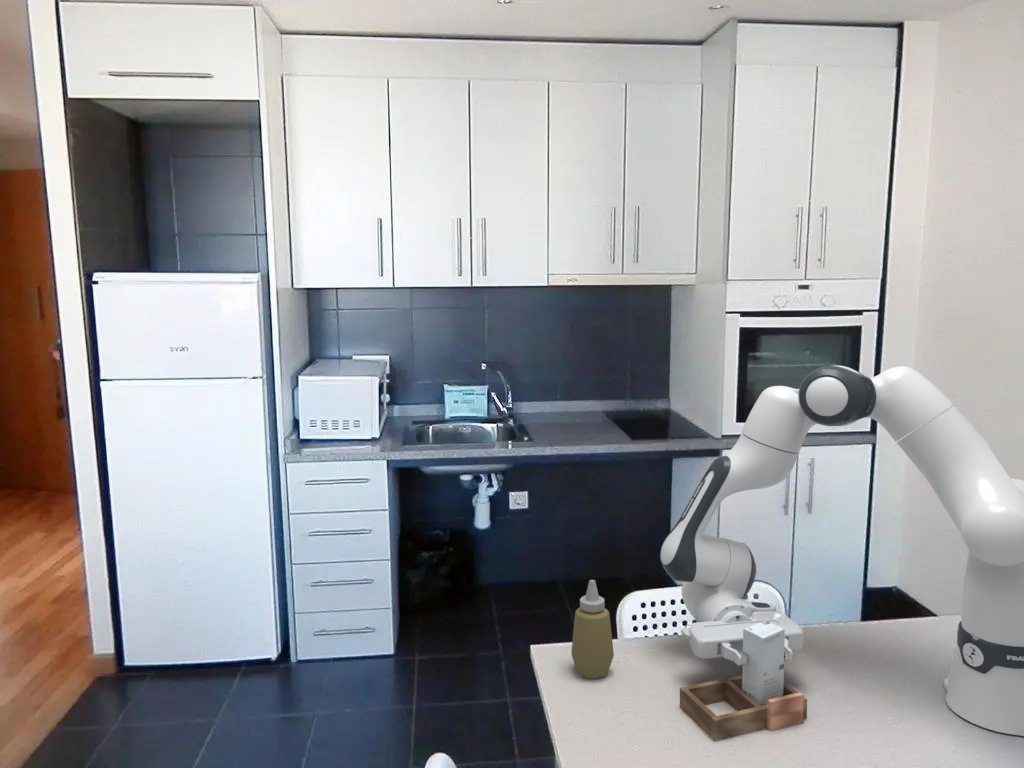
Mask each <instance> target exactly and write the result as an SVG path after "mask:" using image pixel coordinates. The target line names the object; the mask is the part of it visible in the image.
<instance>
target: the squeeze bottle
mask: <svg viewBox="0 0 1024 768" xmlns="http://www.w3.org/2000/svg"><path fill="white" fill-rule="evenodd" d="M598 591H599V590H598V587H597V582H596V580H595V579H589V581H588V584H587V590H586V593H585V595H583V596H581V598H579V607H578V608H577V609H576V610H575V612H574V621H573V622H574V623H573V631H572V632H573V633H572V643H571V657H572V660H573V663H574V666H575V669H576V672H577V673H578V674H579V675H580V676H582V677H583V678H588V679H599V678H600V679H601V678H603V677H605V676H607V675H608V673H609V671H610V667H611V666H612V661H613V659H614V656H615V654H614V645H613V644H614V643H613V642H614V641H613V636H612V634H613V633H612V625H611V615H610V611H609V610H608V609H607V608H606V604H605V600H606V599H605V598H604V597H602V596H600V595H599V592H598Z"/></svg>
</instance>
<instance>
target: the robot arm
mask: <svg viewBox="0 0 1024 768" xmlns="http://www.w3.org/2000/svg"><path fill="white" fill-rule="evenodd" d="M800 383H801V384H800V385H799V388H794V387H790V386H785V385H772V386H769V387H767V388H765V389H764V390H763V391H761V393H760V394H759V396H758V398H757V399H756V401H755V403H754V405H753V407H752V408H751V410H750V412H749V414H748V416H747V419H746V420H745V423H744V425H743V427H742V431H741V434H740V435H739V437H738V439H737V441H736V443H734V446H733V447H732V448H731V449H730V450H729V451H727V453H725V455H722V456H719V457H716V458H715V459H714V460H713V461H712V462H711V464H710V465H709V467H708V468H707V470H706V471H705V473H704V475H703V476H702V477H701V480H700V481H699V484H698V485H697V487H696V489H695V490H694V492H693V494H692V496H691V497H690V499H689V501H688V503H687V504H686V506H685V508H684V510H683V511H682V513H681V516H680V517H679V518H678V520H677V522H676V523H675V525H674V526H673V528H672V529H671V530H670V531H669V532H668V533H667V535H666V536H665V538H664V540H663V542H662V545H661V548H660V552H659V561H660V563H661V567H663V569H664V571H665V572H666V574H667V575H668V577H670V578H671V579H672V580H673V581H677V582H678V581H679V582H682V585H681V598H682V601H683V604H684V606H685V608H686V609H687V611H688V612H689V614H690V615H691V616H692V617H693V618H694V620H695V621H696V622H692V623H691V624H687V625H685V627H682V628H681V629H680V633H681V635H682V636H683V637H684V638H685V639H686V640H688V643H689V646H690V648H691V650H692V652H693V654H694V655H695V656H696V657H697V658H700V659H702V660H708V659H719V658H724V659H726V660H728V661H731V662H734V663H735V664H736V666H743V665H746V664H747V661H746V660H747V656H746V654H744V652H743V630H744V629H745V628H748V627H750V626H752V625H754V624H758V623H762V622H764V621H767V622H769V623H772V624H774V625H776V626H779V627H781V628H783V629H785V637H784V662H789V661H793V657H794V651H800V650H802V649H803V647H804V641H805V639H804V638H805V637H804V635H805V634H804V630H803V628H802V627H801V626H800V625H799V624H797V623H796V622H795V621H794V620H793V619H792V618H791V617H789V616H787V615H786V614H784V613H781V612H779V611H777V607H776V606H775V605H774V604H772V603H767V602H757V601H752V600H751V601H750V600H746V599H745V598H746V597H747V595H748V593H749V592H750V590H751V589H752V587H753V585H754V583H755V579H756V576H757V564H756V561H755V558H754V555H753V552H752V551H751V549H750V547H748V545H747V544H746V543H744V542H740V541H738V540H732V539H728V538H724V537H718V536H715V535H709V534H705V530H706V529H707V527H708V525H709V524H710V522H711V520H712V519H713V516H714V515H715V513H716V511H717V509H718V508H719V505H721V503H722V502H723V501H724V500H725V499H726V498H728V497H729V496H732V495H734V494H737V493H741V492H745V491H751V490H752V491H753V490H761V489H768V488H771V487H774V486H776V485H778V484H780V483H781V482H783V481H785V479H787V478H788V476H789V475H790V474H791V473H792V471H793V469H794V467H795V464H796V461H797V459H798V457H799V454H800V451H801V448H802V447H803V443H804V440H805V438H806V436H807V434H808V432H809V431H810V430H811V428H813V427H814V426H815V425H821V426H825V427H845V426H849V425H852V424H853V423H856V422H858V421H860V420H861V419H864V418H870V419H872V420H874V421H875V422H877V423H878V424H880V426H882V428H884V429H885V431H886V432H887V433H888V434H889V435H890V437H891V438H892V439H893V440H894V441H895V443H896V444H897V445H898V446H899V448H900V449H901V450H902V451H903V452H904V453H905V455H906V456H907V457H908V458H909V459H910V461H911V462H912V463H913V464H914V466H915V467H916V468H917V469H918V470H919V472H920V473H921V474H922V475H923V477H924V478H925V479H926V480H927V482H928V484H929V485H930V487H931V488H932V489H933V491H934V493H935V494H936V496H937V498H938V499H939V501H940V503H941V505H942V506H943V508H944V510H945V511H946V512H947V515H949V518H950V519H951V521H952V522H953V523H954V524H955V527H956V528H957V529H958V531H959V533H960V534H961V537H962V539H963V542H964V544H965V546H966V548H967V549H968V555H967V560H966V566H965V567H966V568H965V573H964V579H963V589H962V590H963V591H962V607H961V620H960V621H959V622H958V626H957V627H958V628H957V630H956V637H957V638H956V645H955V646H954V648H953V651H952V653H953V654H952V657H951V658H952V659H951V663H950V669H949V675H948V677H946V678H944V679H943V680H944V681H943V684H942V685H943V687H944V689H945V690H946V695H945V703H946V704H947V706H948V707H949V709H951V711H953V713H955V714H956V715H958V716H960V717H961V718H962V719H964V720H966V721H968V722H969V723H972V724H974V725H976V726H979V727H981V728H984V729H988V730H990V731H994V732H998V733H1000V734H1001V733H1003V734H1008V735H1012V736H1013V735H1014V736H1021V737H1024V480H1023V479H1020V478H1013V477H1010V475H1009V474H1008V472H1007V471H1006V470H1005V468H1004V467H1003V466H1002V464H1001V463H1000V461H999V460H998V458H997V456H996V454H994V452H993V450H992V448H991V446H990V444H989V442H988V441H987V440H986V439H985V438H984V437H983V436H982V434H981V433H980V432H979V430H977V429H976V428H975V426H974V425H973V424H972V423H971V422H970V421H969V420H968V419H967V418H966V416H965V415H964V414H963V413H962V412H961V411H960V410H959V409H958V407H956V405H954V403H953V402H952V400H950V398H948V397H947V396H946V395H945V393H944V392H942V390H940V389H939V388H938V387H937V386H936V385H935V384H934V383H933V382H932V381H930V380H929V379H928V378H927V377H926V376H924V375H923V374H922V373H920V372H919V371H918V370H917V369H915V368H912V367H911V366H907V365H900V366H898V365H897V366H894V367H891V368H887V369H885V370H884V371H882V372H881V373H879V374H877V375H875V376H871V377H870V376H866V375H864V374H863V373H862V372H860V371H858V370H856V369H854V368H851V367H848V366H844V365H824V366H821V367H818V368H815V369H814V370H812V371H811V372H809V374H807V375H806V376H805V377H804V378H803V380H802V381H801V382H800Z"/></svg>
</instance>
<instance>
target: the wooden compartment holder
mask: <svg viewBox="0 0 1024 768" xmlns="http://www.w3.org/2000/svg"><path fill="white" fill-rule="evenodd" d="M722 701H724V702H726V703H727V704H728V705H729V706H731V708H733V709H734V710H735V711H734V712H733V711H732V712H729V713H724V714H720V715H717V714H716V713H714V712H713V711H712V709H710V708H709V707H708V706H707V705H710V704H715V703H718V702H719V703H720V702H722ZM679 708H680V709H681V710H683V711H684V712H685V714H686V715H688V717H690V719H692V720H693V722H695V723H696V725H698V726H699V727H700V728H701V729H702V730H703V731H704V732H705V733H706V734H707V735H708V736H709V737H710V738H712V740H713V741H714V742H717V741H721V740H724V739H725V740H727V739H729V738H733V737H736V736H741V735H745V734H750V733H754V732H758V731H762V730H766V729H767V730H768V731H770V732H772V731H775V730H779V729H780V730H781V729H783V728H788V727H791V726H796V725H799V724H803V722H804V720H806V719H807V717H808V698H807V697H806V696H805V695H804V694H803V693H802V692H801V691H800V692H798V691H797V690H796V689H795V688H793V687H792V686H790V685H789V684H788V683H786V682H785V681H784V686H783V696H782V697H778V698H773V699H769V700H768V703H766V704H764V705H760V704H758V703H757V702H756V701H755V700H753V699H752V698H751V697H750V696H748V695H747V694H746V693H745V692H744V691H742V674H737V675H734V676H729V677H724V678H720V679H715V680H710V681H705V682H700V683H697V684H691V685H687V686H682V687H679Z"/></svg>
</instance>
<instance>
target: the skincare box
mask: <svg viewBox="0 0 1024 768" xmlns="http://www.w3.org/2000/svg"><path fill="white" fill-rule="evenodd" d="M784 637H785V629H783V628H781V627H779V626H776V625H774V624H772V623H769V622H767V621H764V622H762V623H758V624H754V625H752V626H750V627H748V628H745V629H744V630H743V652H744V654H746V656H747V660H746V661H747V664H746V665H742V674H741V675H742V691H744V692H745V693H746V694H747V695H748V696H750V697H751V698H752V699H753V700H755V701H756V702H757V703H758V704H760V705H761V706H762V705H767V704H768V700H769V699H773V698H778V697H782V696H783V686H784V682H785V679H784V678H785V677H784V675H785V661H784Z"/></svg>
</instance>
